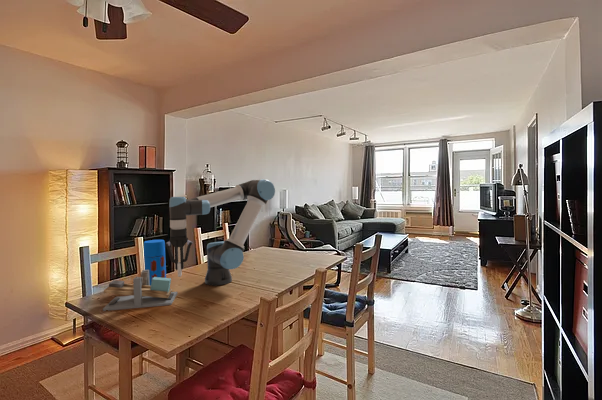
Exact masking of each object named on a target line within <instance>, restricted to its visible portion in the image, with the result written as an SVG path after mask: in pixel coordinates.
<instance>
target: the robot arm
mask: <svg viewBox="0 0 602 400" xmlns="http://www.w3.org/2000/svg"><path fill="white" fill-rule="evenodd" d="M275 194H276V188H275V186H274V183H273V182H272V181H270V180H269V179H265V178H264V179H263V178H262V179H251V180H249V181H246V182H242V183H240V184H236V185H235V187H230V188H228V189H223V190H219V191H217V192H216V191H215V192H213V193H212V192H211V193H208V194H205V195H204V194H203V195H200V196H196V197H193V198H189V199H188V198H186V196H171V197H170V198H169V202H168V203H169V207H168V208H169V228H170V231H169V232H170V233H169V234H170V237H169V240H168V241H167V242H165V248H166V249H167V253H168V256H169V259H170V262H171V263H173V264H174V267H175V268H174V269H175V271H177V278H181V277H182V275H183V274H182V273H183V272H182V270H184V269H185V268H184V267H185V262H187V261H188V259H189V255H190V251H191V250H190V249H191V246H192V244H193V241H192V240H189V238H188V234H187V233H188V231H187V229H188V228H187V216H199V215H200V216H201V215H202V216H203V215H208V214H210V211H211V208H213V207H217V206H220V205H223V204H228V203H231V202H235V201H238V200H239V201H241V202H242V201H245V200H247V202H246V204H245V206H244V208H243V210H242V212H241V214H240V216H239V219H237V222H236V224H235V226H234V228H233V230H232V232H231V234H230V236H229V238H226V239H224V240H223V241H214V242H209V243H207V245H206V260H207V262H206V264H207V265H206V266H207V270H206V274H205V276H204V285H206V286H207V285H208V286H222V285H226V284H229V283H231V282H232V281H233V276H232V274H231V271H230V270H234V269H237V268H239V267H240V266H241V265H242V264H243V262H244V256H245V255H244V251H245V250H246V249H245V246H244V244H245V242H246V241H247V239H248V236H249V235H250V232H251V230H252V228H253V227H254V224H255V222H256V220H257V217H258V216H259V214H260V211H261V210H262V208H263V207H265V206H266V205H267V203H268V201H270V200H272V199H273V198H274V196H275ZM186 244H187V247H186V251H185V252H184V250H185V248H184V247H185V245H186ZM171 246H173V249H174V253H173V251H172V247H171ZM179 254H180V255H179ZM184 254H185V256H184ZM179 256H180V257H179ZM179 260H180V261H179Z"/></svg>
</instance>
